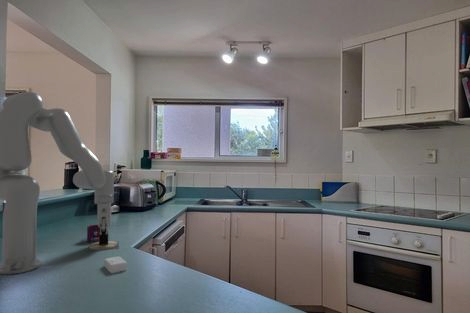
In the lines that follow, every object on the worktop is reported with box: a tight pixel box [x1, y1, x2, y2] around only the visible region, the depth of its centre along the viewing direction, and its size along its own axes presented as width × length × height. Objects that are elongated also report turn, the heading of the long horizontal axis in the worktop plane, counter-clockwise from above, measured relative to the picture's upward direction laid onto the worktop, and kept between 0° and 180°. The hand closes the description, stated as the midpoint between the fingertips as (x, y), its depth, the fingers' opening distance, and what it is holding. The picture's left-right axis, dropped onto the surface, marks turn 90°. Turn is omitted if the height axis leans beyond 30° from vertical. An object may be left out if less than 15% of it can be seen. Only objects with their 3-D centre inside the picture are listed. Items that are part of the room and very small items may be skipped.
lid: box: [88, 230, 118, 251], centre depth 133 cm, size 11×11×6 cm
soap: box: [103, 255, 128, 274], centre depth 107 cm, size 9×6×3 cm, turn 37°
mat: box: [86, 241, 120, 253], centre depth 132 cm, size 12×12×1 cm
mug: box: [86, 224, 100, 243], centre depth 144 cm, size 7×10×7 cm
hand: (103, 241), depth 132 cm, fingers open, 5 cm apart
